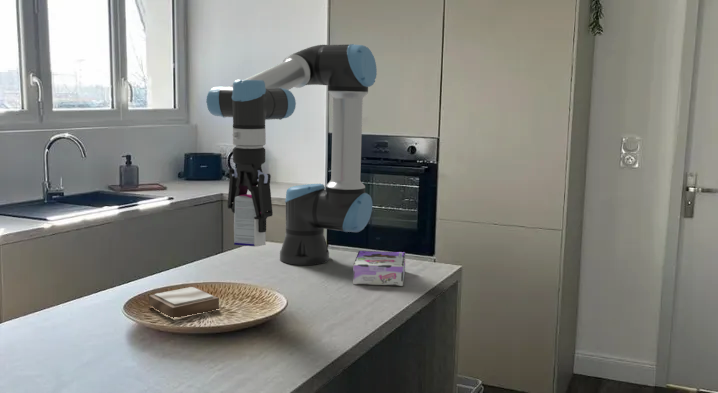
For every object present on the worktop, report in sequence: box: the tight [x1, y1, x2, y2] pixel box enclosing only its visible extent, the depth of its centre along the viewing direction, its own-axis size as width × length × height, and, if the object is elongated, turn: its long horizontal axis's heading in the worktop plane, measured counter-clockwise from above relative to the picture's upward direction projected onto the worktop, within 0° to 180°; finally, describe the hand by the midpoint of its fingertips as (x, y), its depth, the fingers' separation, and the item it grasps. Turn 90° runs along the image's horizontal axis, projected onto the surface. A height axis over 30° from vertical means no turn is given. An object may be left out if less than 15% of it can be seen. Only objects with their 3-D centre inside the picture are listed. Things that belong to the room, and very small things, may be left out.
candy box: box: [352, 250, 406, 287], centre depth 201 cm, size 14×6×16 cm
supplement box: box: [233, 193, 261, 247], centre depth 170 cm, size 6×6×12 cm
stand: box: [148, 286, 220, 318], centre depth 171 cm, size 12×12×3 cm
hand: (249, 242), depth 171 cm, fingers closed on supplement box, 8 cm apart
